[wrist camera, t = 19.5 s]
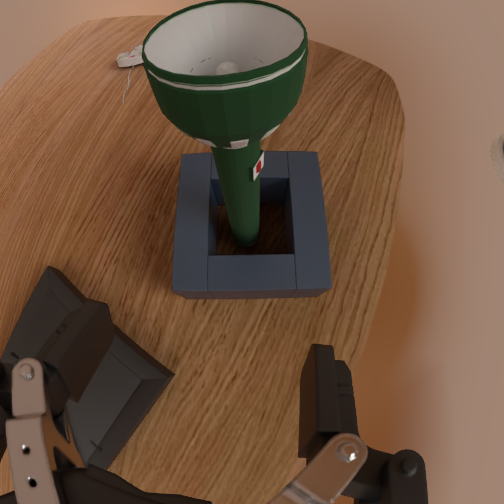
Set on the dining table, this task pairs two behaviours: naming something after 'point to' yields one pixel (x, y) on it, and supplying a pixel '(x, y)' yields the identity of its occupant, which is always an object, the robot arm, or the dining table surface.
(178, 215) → the hollow square frame
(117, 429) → the picture frame
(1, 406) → the robot arm
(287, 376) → the dining table surface
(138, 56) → the game controller
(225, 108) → the flashlight
